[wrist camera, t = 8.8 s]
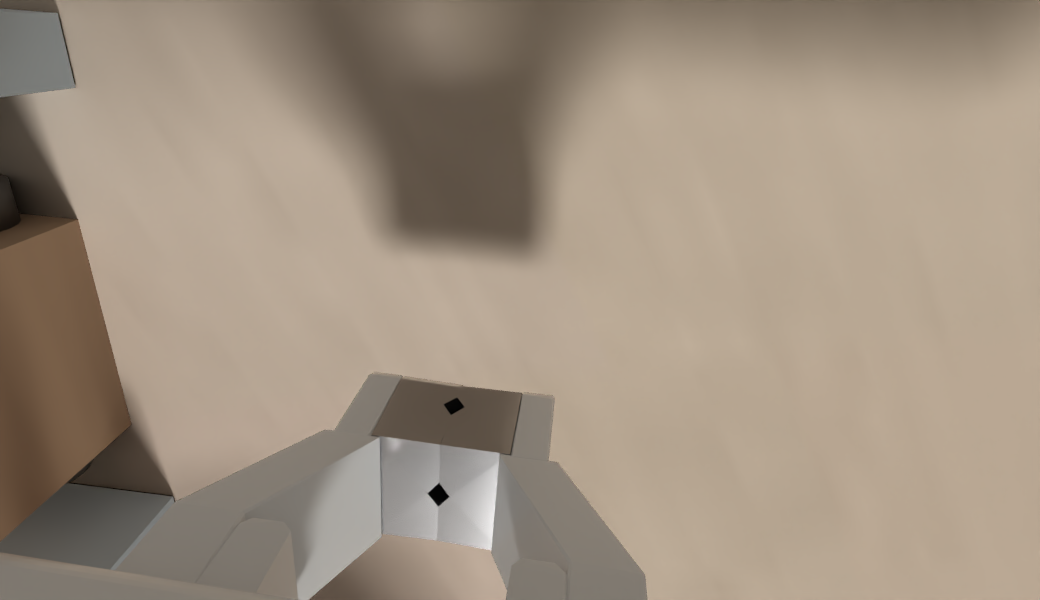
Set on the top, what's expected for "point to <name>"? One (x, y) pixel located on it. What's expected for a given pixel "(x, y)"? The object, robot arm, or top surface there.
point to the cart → (50, 362)
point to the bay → (73, 508)
